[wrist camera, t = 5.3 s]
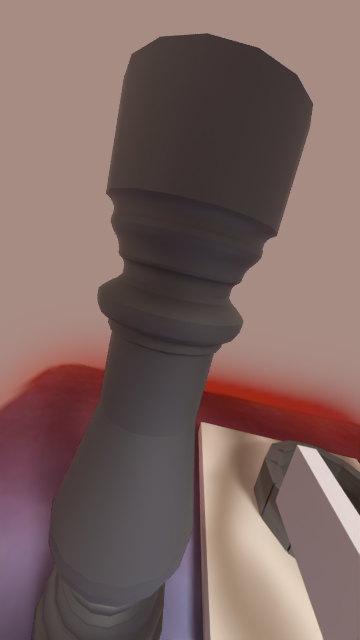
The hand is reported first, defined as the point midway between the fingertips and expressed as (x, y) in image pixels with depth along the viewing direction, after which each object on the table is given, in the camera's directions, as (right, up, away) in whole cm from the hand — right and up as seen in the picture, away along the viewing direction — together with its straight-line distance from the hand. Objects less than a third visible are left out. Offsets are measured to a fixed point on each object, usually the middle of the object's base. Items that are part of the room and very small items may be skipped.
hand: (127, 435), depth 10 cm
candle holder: (-3, -13, +3) cm, 14 cm away
